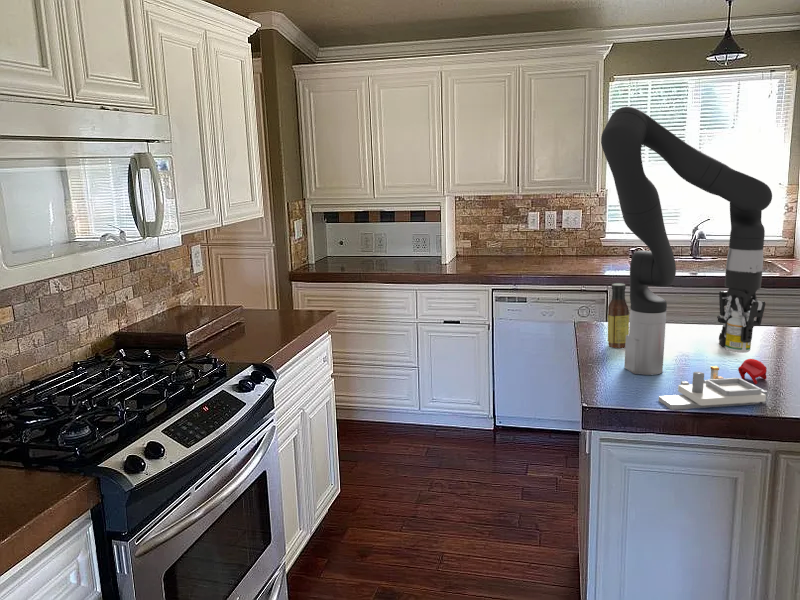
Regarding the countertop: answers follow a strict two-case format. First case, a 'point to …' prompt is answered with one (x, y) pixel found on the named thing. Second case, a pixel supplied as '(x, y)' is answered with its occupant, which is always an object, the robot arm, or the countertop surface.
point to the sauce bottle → (618, 317)
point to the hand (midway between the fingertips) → (737, 338)
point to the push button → (722, 335)
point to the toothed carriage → (720, 390)
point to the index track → (686, 403)
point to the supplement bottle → (736, 334)
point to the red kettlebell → (753, 369)
